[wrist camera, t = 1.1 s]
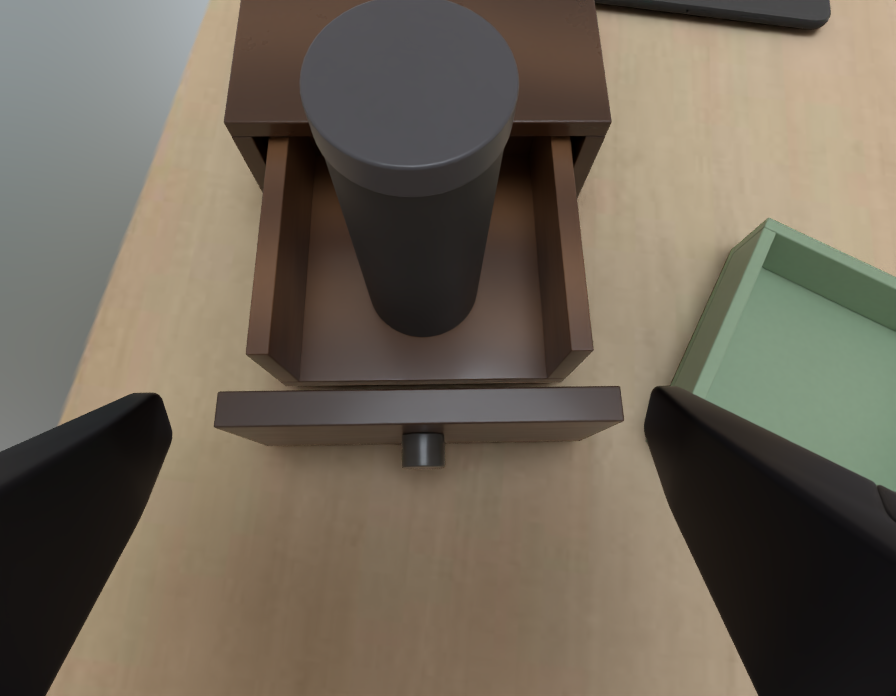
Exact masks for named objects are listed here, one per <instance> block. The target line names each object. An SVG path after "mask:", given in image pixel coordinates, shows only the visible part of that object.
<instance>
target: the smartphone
mask: <svg viewBox="0 0 896 696" xmlns="http://www.w3.org/2000/svg"><path fill="white" fill-rule="evenodd" d="M594 1H595V3H601V4H609V5H617V6H625V7H633V8H642V9H650V10H658V11H666V12H674V13H682V14H690V15H698V16H706V17H714V18H722V19H730V20H738V21H746V22H754V23H762V24H770V25H779V26H787V27H795V28H803V29H817V28H820V27H822V26H823V25H824V24H825V23H826V22H827V21H828V20H829V18H830V14H831V10H830V1H829V0H594Z"/></svg>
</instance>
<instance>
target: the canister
mask: <svg viewBox="0 0 896 696" xmlns="http://www.w3.org/2000/svg"><path fill="white" fill-rule="evenodd" d="M518 92H519V74H518V69H517V65H516V61H515V59H514V56H513V53H512V51H511V49H510V47H509V46H508V44H507V42H506V41H505V39H504V38H503V37H502V35H501V34H500V33H499V32H498V31H497V30H496V29H495V28H494V27H493V26H492V25H491V24H490V23H489V22H488V21H486V20H485V19H484V18H483V17H481V16H480V15H478V14H476V13H475V12H473V11H472V10H470V9H468V8H465V7H463V6H461V5H459V4H456V3H453V2H450V1H447V0H372V1H368V2H366V3H363V4H360V5H358V6H355V7H353V8H351V9H349V10H348V11H346V12H344V13H342V14H341V15H339V16H338V17H336V18H335V19H333V20H332V21H331V22H330V23H329V24H328V25H326V26H325V27H324V28H323V29H322V30H321V32H320V33H319V34H318V35H317V36H316V37H315V39H314V40H313V42H312V43H311V45H310V46H309V49H308V51H307V53H306V55H305V57H304V60H303V64H302V67H301V73H300V95H301V100H302V105H303V108H304V111H305V114H306V117H307V119H308V122H309V125H310V128H311V131H312V134H313V137H314V139H315V142H316V144H317V146H318V148H319V150H320V151H321V153H322V155H323V156H324V158H325V161H326V164H327V167H328V170H329V173H330V176H331V179H332V182H333V185H334V188H335V191H336V194H337V197H338V201H339V204H340V207H341V210H342V213H343V216H344V219H345V222H346V225H347V228H348V231H349V234H350V237H351V240H352V243H353V247H354V250H355V253H356V256H357V259H358V262H359V265H360V268H361V271H362V274H363V277H364V280H365V283H366V286H367V289H368V292H369V296H370V299H371V302H372V304H373V307H374V309H375V311H376V312H377V314H378V315H379V316H380V318H381V319H382V320H383V321H384V322H385V323H386V324H387V325H389V326H390V327H391V328H393V329H395V330H396V331H398V332H401V333H403V334H406V335H410V336H416V337H430V336H436V335H440V334H443V333H445V332H448V331H450V330H451V329H453V328H455V327H456V326H458V325H459V324H460V323H461V322H462V321H463V320H464V319H465V318H466V317H467V316H468V314H469V313H470V311H471V310H472V308H473V305H474V303H475V300H476V296H477V291H478V285H479V280H480V274H481V269H482V264H483V258H484V253H485V247H486V242H487V237H488V231H489V226H490V221H491V215H492V210H493V204H494V199H495V194H496V188H497V183H498V177H499V172H500V167H501V161H502V156H503V151H504V147H505V145H506V143H507V141H508V139H509V136H510V132H511V129H512V125H513V120H514V115H515V109H516V104H517V99H518Z"/></svg>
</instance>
